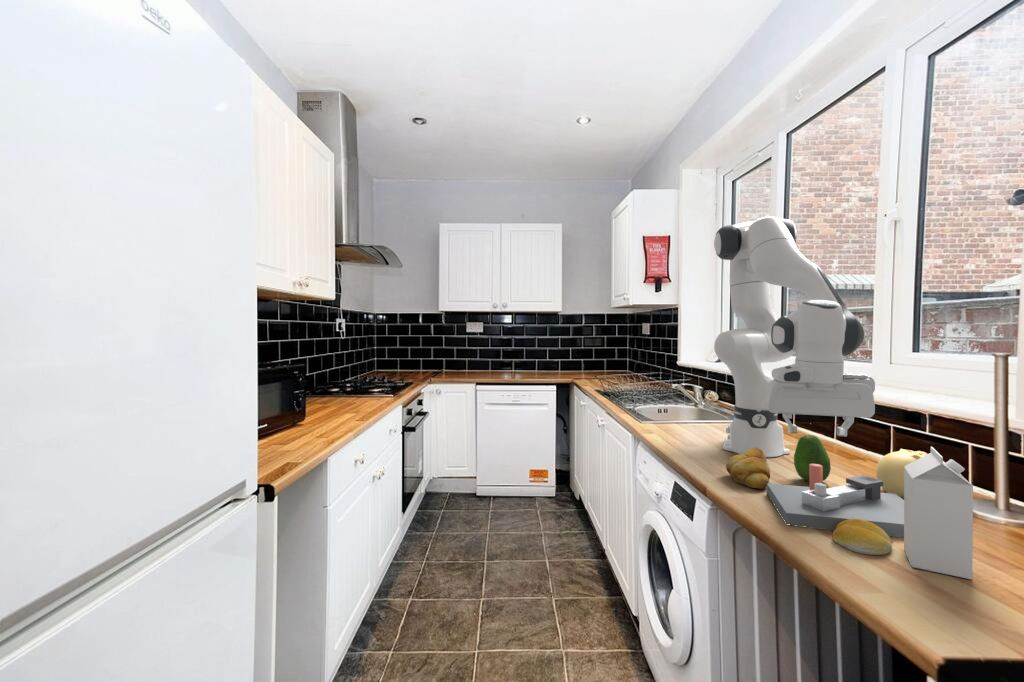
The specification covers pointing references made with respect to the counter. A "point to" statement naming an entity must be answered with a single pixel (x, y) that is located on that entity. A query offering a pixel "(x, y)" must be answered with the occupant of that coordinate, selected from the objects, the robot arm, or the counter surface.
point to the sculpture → (895, 469)
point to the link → (834, 497)
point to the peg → (815, 474)
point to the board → (874, 509)
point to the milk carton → (938, 516)
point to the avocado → (810, 456)
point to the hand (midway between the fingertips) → (816, 434)
